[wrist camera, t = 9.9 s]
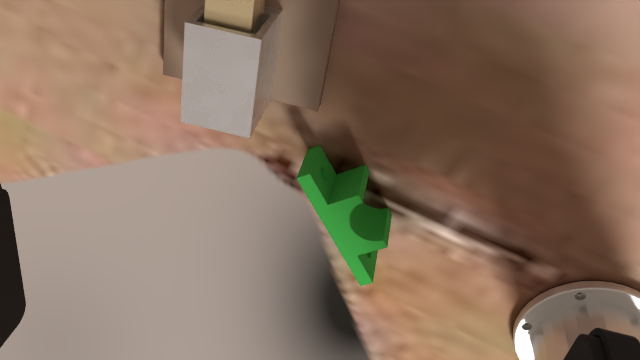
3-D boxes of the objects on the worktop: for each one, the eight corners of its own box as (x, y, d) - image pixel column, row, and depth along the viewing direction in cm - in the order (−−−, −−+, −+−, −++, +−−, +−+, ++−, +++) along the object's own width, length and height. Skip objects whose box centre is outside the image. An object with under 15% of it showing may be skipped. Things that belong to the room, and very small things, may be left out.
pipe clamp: (406, 239, 52) (402, 275, 49) (366, 250, 54) (360, 286, 50) (349, 132, 47) (340, 163, 44) (307, 148, 49) (295, 179, 45)
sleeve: (283, 9, 42) (261, 39, 37) (270, 99, 46) (249, 138, 41) (215, -7, 42) (184, 22, 37) (209, 85, 46) (180, 121, 41)
